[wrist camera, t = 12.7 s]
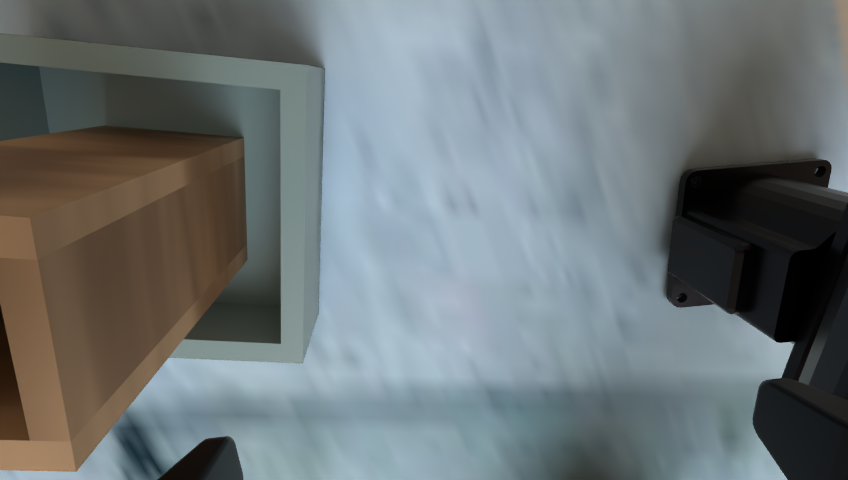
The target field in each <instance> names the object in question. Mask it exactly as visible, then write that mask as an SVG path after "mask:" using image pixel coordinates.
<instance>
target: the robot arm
mask: <svg viewBox="0 0 848 480" xmlns="http://www.w3.org/2000/svg"><path fill="white" fill-rule="evenodd" d="M817 167H818V170H817V172H816V173H815V174H814V172H815V170H816V168H817ZM830 174H831V164H830V163H829V162H828V161H826V160H821V159H803V160H791V161H779V162H767V163H755V164H743V165H731V166H719V167H707V168H695V169H690V170H687V171H686V172H684V174H683V175H682V176H681V179H680V184H679V193H678V202H677V210H676V218H675V220H674V221H673V228H672V237H671V246H670V255H669V264H668V271H669V281H668V289H667V299H668V301H669V302H670V303H672V304H673V305H674V306H676V307H691V306H701V305H712V304H715V305H717V306H718V307H720V308H721V309H723V310H724V311H725V312H727V313H729V314H736V315H737V316H739V317H740V318H742V319H743V320H745V321H746V322H748V323H749V324H751V325H752V326H754V327H755V328H757V329H758V330H760V331H761V332H763V333H764V334H766V335H767V336H769V337H770V338H771V339H773V340H774V341H776V342H780V343H783V342H791V343H793V344H794V346H793V349H792V351H791V354H790V357H789V359H788V362H787V365H786V367H785V370H784V373H783V375H782V378H780V379H771V380H765V381H763V382H762V383H761V384H760V386H759V389H758V394H757V399H756V404H755V408H754V413H753V426H754V429H755V431H756V433H757V435H758V437H759V438H760V440H761V441H762V442H763V444H764V445H765V447H766V448H767V450H768V451H769V453H770V454H771V456H772V457H773V459H774V460H775V462H776V463H777V465H778V466H779V467H780V469H781V470H782V472H783V473H784V475H785V476H786V478H787V479H788V480H848V193H846V192H842V191H838V190H834V189H830V188H828V183H829V179H830ZM694 177H696V178H697V180H696V183H695V184H694V185H692V186H691V181H692V179H693V178H694ZM681 293H682V296H681V297H680V298H678V299H677V296H678V295H679V294H681ZM157 480H243V472H242V469H241V465H240V461H239V457H238V453H237V449H236V445H235V442H234V440H233V439H232V438H231V437H229V436H225V437H216V438H208V439H205V440H204V441H202V442H201V443H200V444H199V445H197V446H196V447H195V448H194V449H193V450H192V451H190V452H189V453H188V454H187V455H186V456H184V457H183V458H182V459H181V460H180V461H179V462H177V463H176V464H175V465H174V466H173V467H171V468H170V469H169V470H168V471H167V472H166V473H164V474H163V475H162V476H161V477H160V478H159V479H157Z"/></svg>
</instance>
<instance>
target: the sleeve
mask: <svg viewBox="0 0 848 480" xmlns="http://www.w3.org/2000/svg"><path fill="white" fill-rule="evenodd" d="M247 260H248V258H247V222H246V187H245V151H244V137H233V136H222V135H210V134H199V133H187V132H176V131H164V130H152V129H141V128H129V127H118V126H106V125H104V126H97V127H91V128H84V129H77V130H71V131H64V132H57V133H51V134H44V135H38V136H31V137H24V138H18V139H11V140H4V141H0V470H20V471H70V472H76V471H77V470H78V469H79V468H80V466H81V465H82V464H83V463H84V461H85V460H86V459H87V458H88V456H89V455H90V454H91V453H92V452H93V450H94V449H95V448H96V447H97V445H98V444H99V443H100V442H101V440H102V439H103V438H104V437H105V435H106V434H107V433H108V432H109V430H110V429H111V428H112V427H113V426H114V424H115V423H116V422H117V421H118V419H119V418H120V417H121V416H122V414H123V413H124V412H125V411H126V409H127V408H128V407H129V406H130V405H131V403H132V402H133V401H134V400H135V398H136V397H137V396H138V395H139V393H140V392H141V391H142V390H143V388H144V387H145V386H146V385H147V384H148V382H149V381H150V380H151V379H152V377H153V376H154V375H155V374H156V372H157V371H158V370H159V369H160V367H161V366H162V365H163V364H164V363H165V361H166V360H167V359H168V358H169V356H170V355H171V354H172V353H173V351H174V350H175V349H176V348H177V346H178V345H179V344H180V343H181V342H182V340H183V339H184V338H185V337H186V335H187V334H188V333H189V332H190V330H191V329H192V328H193V327H194V325H195V324H196V323H197V322H198V321H199V319H200V318H201V317H202V316H203V314H204V313H205V312H206V311H207V309H208V308H209V307H210V306H211V304H212V303H213V302H214V301H215V300H216V298H217V297H218V296H219V295H220V293H221V292H222V291H223V290H224V288H225V287H226V286H227V285H228V283H229V282H230V281H231V280H232V279H233V277H234V276H235V275H236V274H237V272H238V271H239V270H240V269H241V267H242V266H243V265H244V264H245V262H246V261H247Z"/></svg>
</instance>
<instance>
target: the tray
mask: <svg viewBox="0 0 848 480" xmlns="http://www.w3.org/2000/svg"><path fill="white" fill-rule="evenodd" d="M324 84H325V69H324V68H319V67H314V66H309V65H302V64H292V63H283V62H273V61H263V60H254V59H244V58H234V57H225V56H215V55H205V54H196V53H186V52H176V51H166V50H157V49H147V48H137V47H128V46H118V45H108V44H99V43H89V42H79V41H70V40H60V39H50V38H41V37H31V36H21V35H12V34H2V33H0V141H4V140H11V139H18V138H24V137H31V136H38V135H44V134H51V133H57V132H64V131H71V130H77V129H84V128H91V127H97V126H104V125H106V126H118V127H129V128H141V129H152V130H164V131H176V132H187V133H199V134H210V135H222V136H233V137H244V151H245V187H246V222H247V258H248V260H247V261H246V262H245V264H244V265H243V266H242V267H241V269H240V270H239V271H238V272H237V274H236V275H235V276H234V277H233V279H232V280H231V281H230V282H229V283H228V285H227V286H226V287H225V288H224V290H223V291H222V292H221V293H220V295H219V296H218V297H217V298H216V300H215V301H214V302H213V303H212V304H211V306H210V307H209V308H208V309H207V311H206V312H205V313H204V314H203V316H202V317H201V318H200V319H199V321H198V322H197V323H196V324H195V325H194V327H193V328H192V329H191V330H190V332H189V333H188V334H187V335H186V337H185V338H184V339H183V340H182V342H181V343H180V344H179V345H178V346H177V348H176V349H175V350H174V351H173V353H172V354H171V355H170V356H169V358H188V359H211V360H234V361H258V362H281V363H303V361H304V358H305V354H306V351H307V348H308V345H309V342H310V339H311V335H312V332H313V329H314V326H315V323H316V320H317V316H318V311H319V274H320V236H321V198H322V160H323V122H324Z"/></svg>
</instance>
